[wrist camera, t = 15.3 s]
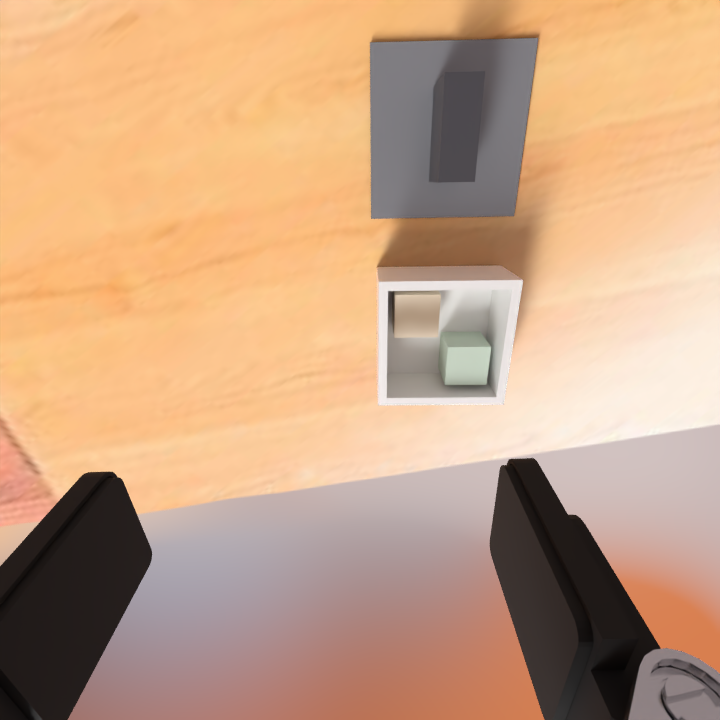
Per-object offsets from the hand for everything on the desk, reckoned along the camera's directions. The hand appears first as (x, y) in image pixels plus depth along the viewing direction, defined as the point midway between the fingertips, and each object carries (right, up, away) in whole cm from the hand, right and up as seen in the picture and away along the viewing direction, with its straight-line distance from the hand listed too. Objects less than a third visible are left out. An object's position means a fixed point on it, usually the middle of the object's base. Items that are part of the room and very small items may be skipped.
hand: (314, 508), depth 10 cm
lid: (+9, +23, +24) cm, 35 cm away
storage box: (+9, +7, +31) cm, 33 cm away
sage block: (+11, +5, +31) cm, 34 cm away
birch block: (+6, +9, +29) cm, 31 cm away
